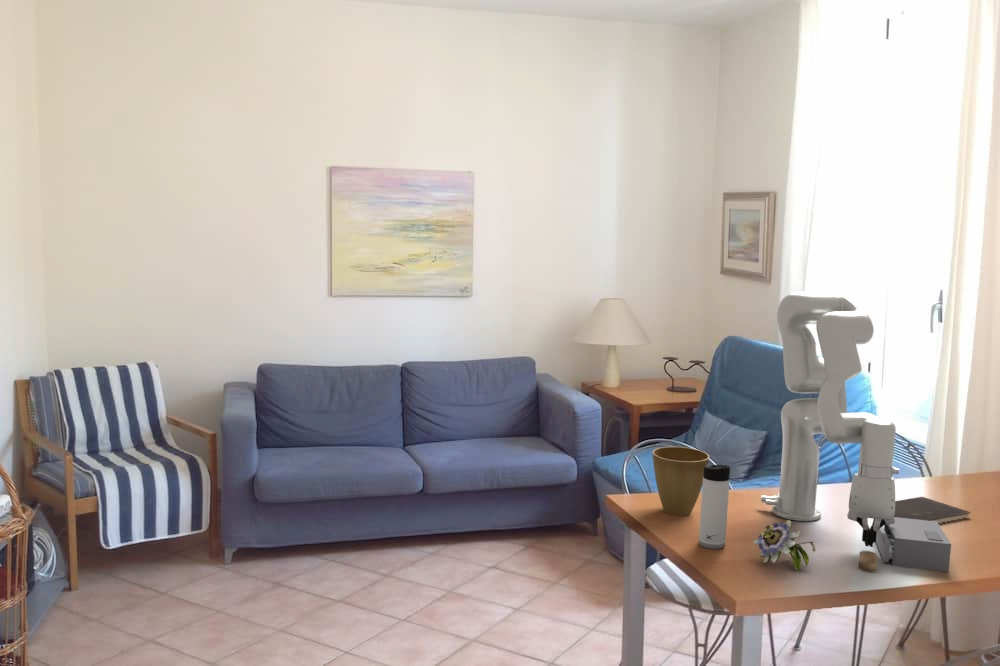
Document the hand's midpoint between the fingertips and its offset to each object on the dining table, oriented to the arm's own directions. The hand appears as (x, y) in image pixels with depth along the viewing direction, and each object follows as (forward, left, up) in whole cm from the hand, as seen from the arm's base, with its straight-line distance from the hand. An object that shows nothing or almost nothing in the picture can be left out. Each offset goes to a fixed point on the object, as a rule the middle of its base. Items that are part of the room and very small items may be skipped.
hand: (868, 544), depth 233 cm
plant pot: (-47, +15, -2) cm, 49 cm away
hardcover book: (+17, +36, -2) cm, 40 cm away
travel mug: (-37, -9, -2) cm, 38 cm away
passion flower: (-21, -15, -2) cm, 26 cm away
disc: (+8, 0, 0) cm, 8 cm away
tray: (+9, 0, -1) cm, 9 cm away
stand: (-2, -13, -2) cm, 13 cm away
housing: (+10, 0, -2) cm, 11 cm away
